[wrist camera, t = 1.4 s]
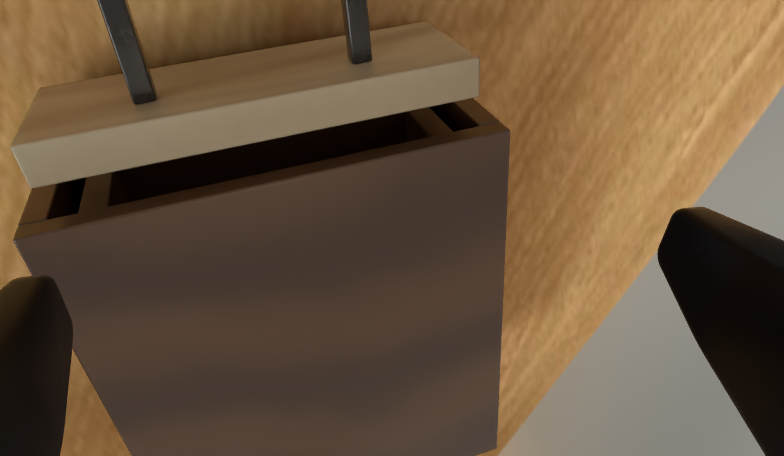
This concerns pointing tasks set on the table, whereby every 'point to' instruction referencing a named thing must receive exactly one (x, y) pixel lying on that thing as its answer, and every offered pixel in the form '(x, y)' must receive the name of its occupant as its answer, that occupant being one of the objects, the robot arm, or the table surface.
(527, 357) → the table surface
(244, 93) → the drawer
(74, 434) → the table surface
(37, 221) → the cabinet
